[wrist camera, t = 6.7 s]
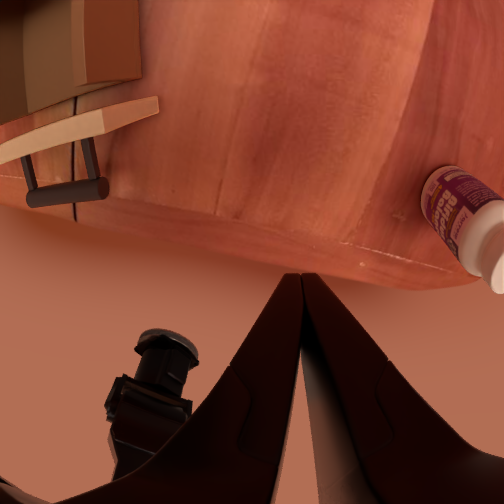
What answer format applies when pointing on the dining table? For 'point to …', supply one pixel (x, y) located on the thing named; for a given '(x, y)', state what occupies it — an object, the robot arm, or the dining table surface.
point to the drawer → (67, 81)
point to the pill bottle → (467, 221)
